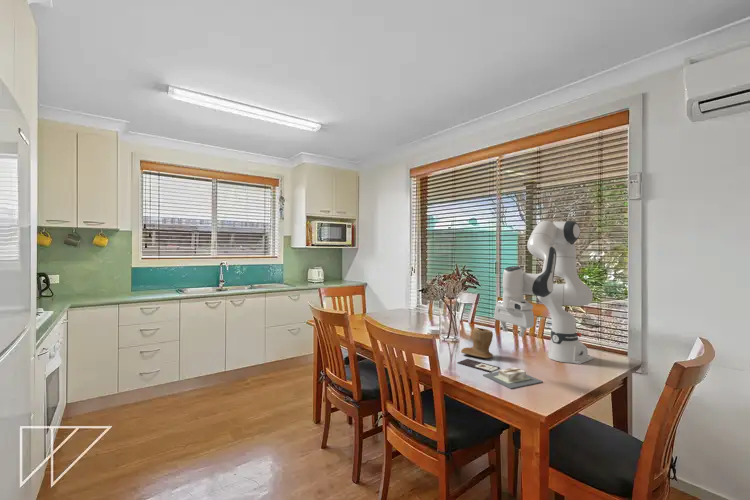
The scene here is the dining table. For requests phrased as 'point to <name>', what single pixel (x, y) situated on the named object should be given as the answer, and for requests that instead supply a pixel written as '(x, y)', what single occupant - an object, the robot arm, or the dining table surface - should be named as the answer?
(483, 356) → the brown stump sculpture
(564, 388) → the dining table surface
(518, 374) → the cream block
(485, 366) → the chocolate bar
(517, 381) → the mat
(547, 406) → the dining table surface
